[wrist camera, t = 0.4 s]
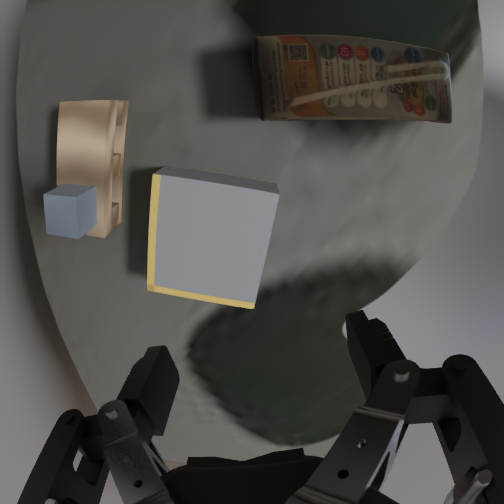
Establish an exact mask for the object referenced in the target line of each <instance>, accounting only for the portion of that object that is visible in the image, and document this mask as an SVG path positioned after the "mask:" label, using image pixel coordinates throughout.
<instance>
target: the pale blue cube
mask: <svg viewBox="0 0 504 504" xmlns="http://www.w3.org/2000/svg"><path fill="white" fill-rule="evenodd" d="M43 197H44V211H45V222H46V231H47V234H51V235H57V236H63V237H69V238H75V239H79V238H81V237H82V236H83V235H84V234H85V233H87V232H88V231H89V230H90V229H91V228H93V227H94V226H95V225H96V224H97V197H96V186H90V185H78V184H63V185H61V186H59V187H57V188H55V189H53V190H51V191H49V192H47V193H45V194H43Z"/></svg>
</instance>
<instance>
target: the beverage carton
mask: <svg viewBox="0 0 504 504" xmlns="http://www.w3.org/2000/svg"><path fill="white" fill-rule="evenodd" d="M252 76H253V87H254V95H255V101H256V106H257V110H258V113H259V116H260V118H261V120H263V121H264V120H409V121H431V122H437V123H452V98H451V78H450V63H449V56H448V53H444V52H441V51H437V50H433V49H430V48H425V47H420V46H416V45H411V44H405V43H399V42H393V41H386V40H379V39H371V38H363V37H353V36H338V35H278V36H265V37H256V38H255V41H254V45H253V53H252Z"/></svg>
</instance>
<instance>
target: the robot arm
mask: <svg viewBox="0 0 504 504" xmlns="http://www.w3.org/2000/svg"><path fill="white" fill-rule="evenodd" d="M345 318H346V329H347V342H348V349H349V353H350V356H351V359H352V362H353V364H354V367H355V370H356V373H357V375H358V378H359V381H360V384H361V386H362V389H363V392H364V395H365V398H366V400H367V401H366V403H365V405H364V407H363V408H361V407H358V408H357V409H356V410H355V411H354V413H353V414H352V416H351V418H350V419H349V421H348V423H347V424H346V426H345V427H344V429H343V431H342V432H341V434H340V435H339V437H338V438H337V440H336V441H335V443H334V444H333V446H332V447H331V449H330V450H329V452H328V453H327V455H326V456H325V458H321V457H316V456H307V455H305V454H304V450H303V448H298V449H292V450H285V451H278V452H272V453H269V454H266V455H263V456H259V457H256V458H253V459H249V460H246V461H237V460H231V459H225V458H219V457H188V460H187V465H184V466H181V467H178V468H175V469H173V470H171V471H170V470H169V469H168V467H167V465H166V464H165V462H164V460H163V459H162V457H161V455H160V453H159V452H158V450H157V448H156V446H155V445H154V443H153V442H152V441H151V439H152V436H163V434H164V430H165V427H166V424H167V420H168V417H169V414H170V411H171V407H172V404H173V401H174V398H175V394H176V391H177V388H178V385H179V373H178V370H177V368H176V366H175V364H174V361H173V359H172V357H171V355H170V353H169V351H168V349H167V347H166V346H164V345H162V346H153V347H149V348H148V349H147V351H146V353H145V355H144V357H143V358H141V359H140V360H139V361H137V362H136V363H135V364H134V366H133V367H132V369H131V371H130V374H129V375H128V377H127V380H126V381H125V383H124V385H123V387H122V389H121V391H120V393H119V395H118V397H117V399H116V400H112V401H109V402H107V403H105V404H104V405H103V406H102V407H101V408H100V409H99V411H98V414H96V415H92V416H87V417H84V415H83V414H82V413H81V411H79V410H77V409H71V410H68V411H66V412H64V413H63V414H62V415H61V416H60V417H59V419H58V420H57V422H56V424H55V426H54V428H53V430H52V432H51V434H50V436H49V438H48V439H47V441H46V444H45V445H44V447H43V449H42V451H41V453H40V455H39V457H38V459H37V461H36V464H35V465H34V468H33V470H32V472H31V474H30V476H29V478H28V480H27V483H26V485H25V487H24V489H23V491H22V494H21V496H20V498H19V501H18V503H17V504H99V502H100V499H101V496H102V492H103V489H104V486H105V483H106V479H107V476H108V473H109V470H110V471H111V474H112V476H113V479H114V482H115V484H116V486H117V489H118V491H119V494H120V496H121V498H122V501H123V503H124V504H399V503H397V502H396V501H394V500H392V499H391V498H389V497H387V496H386V495H384V494H382V493H381V492H380V490H381V488H382V487H383V485H384V483H385V481H386V479H387V477H388V475H389V473H390V470H391V468H392V465H393V463H394V460H395V458H396V456H397V454H398V452H399V449H400V447H401V445H402V443H403V440H404V438H405V436H406V433H407V431H408V429H409V426H410V424H417V423H431V422H432V423H433V425H434V428H435V430H436V433H437V436H438V438H439V441H440V443H441V446H442V449H443V451H444V454H445V457H446V460H447V462H448V465H449V468H450V471H451V474H452V477H453V480H454V483H455V485H454V487H453V488H452V489H451V491H450V492H449V494H448V495H447V497H446V499H445V501H444V504H504V404H503V402H502V401H501V399H500V398H499V396H498V395H497V393H496V391H495V390H494V388H493V386H492V385H491V383H490V382H489V380H488V379H487V377H486V376H485V374H484V373H483V371H482V370H481V369H480V367H479V366H478V364H477V363H476V361H475V360H474V359H473V358H471V357H469V356H467V355H462V354H459V355H453V356H451V357H449V358H447V359H446V360H445V361H444V363H443V366H442V367H441V368H430V369H423V368H419V366H418V365H417V364H416V363H415V362H413V361H410V360H407V359H406V357H405V356H404V354H403V352H402V351H401V349H400V347H399V346H398V344H397V342H396V341H395V339H394V338H393V336H392V334H391V332H390V331H389V329H388V328H387V326H386V324H385V323H383V322H382V321H380V320H379V319H377V318H375V319H371V320H368V318H367V317H366V315H365V313H364V311H363V310H360V311H355V312H351V313H347V314H346V315H345ZM78 450H79V451H80V452H81V454H83V456H82V458H81V461H80V464H79V466H78V469H77V471H75V470H74V467H73V461H74V458H75V456H76V453H77V451H78Z"/></svg>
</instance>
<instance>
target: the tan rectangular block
mask: <svg viewBox="0 0 504 504" xmlns="http://www.w3.org/2000/svg"><path fill="white" fill-rule="evenodd" d="M128 103H129V101H118V100H91V101H69V102H60V106H59V118H58V134H57V187H59V186H61V185H63V184H78V185H90V186H96V197H97V224H96V225H95V226H94V227H93V228H91V229H90V230H89V231H88V232H87V233H85V234H84V235H89V236H95V237H101V238H105V237H106V236H107V235H108V234H109V233H110V232H111V231H112V229H113V228H114V227H115V226H116V225H117V224H120V223H121V202H122V172H123V155H124V142H125V130H126V120H127V111H128Z"/></svg>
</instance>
